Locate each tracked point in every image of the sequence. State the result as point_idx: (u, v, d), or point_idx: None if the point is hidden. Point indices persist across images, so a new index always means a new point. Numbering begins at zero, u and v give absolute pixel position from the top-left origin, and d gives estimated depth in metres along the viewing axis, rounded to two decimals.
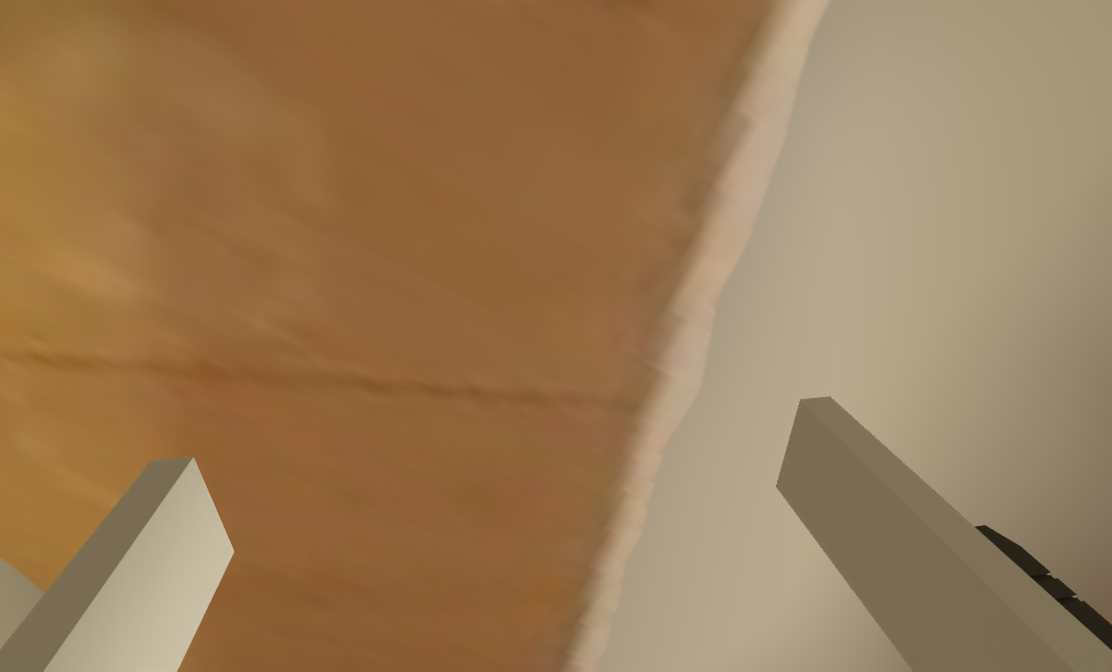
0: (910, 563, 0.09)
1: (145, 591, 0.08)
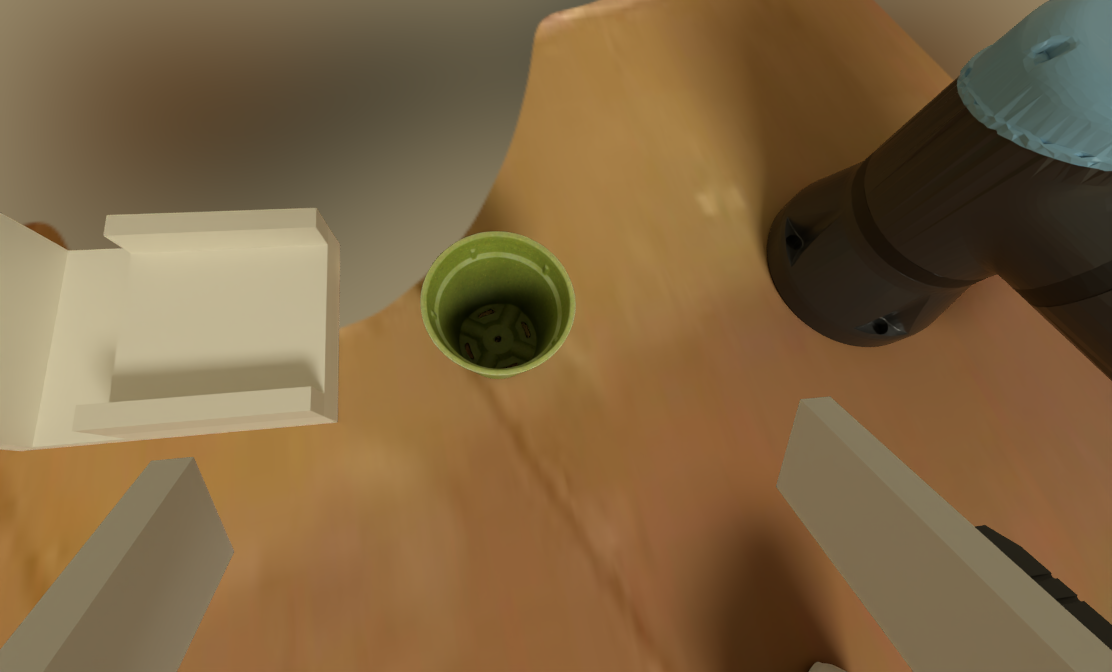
0: (910, 563, 0.09)
1: (145, 591, 0.08)
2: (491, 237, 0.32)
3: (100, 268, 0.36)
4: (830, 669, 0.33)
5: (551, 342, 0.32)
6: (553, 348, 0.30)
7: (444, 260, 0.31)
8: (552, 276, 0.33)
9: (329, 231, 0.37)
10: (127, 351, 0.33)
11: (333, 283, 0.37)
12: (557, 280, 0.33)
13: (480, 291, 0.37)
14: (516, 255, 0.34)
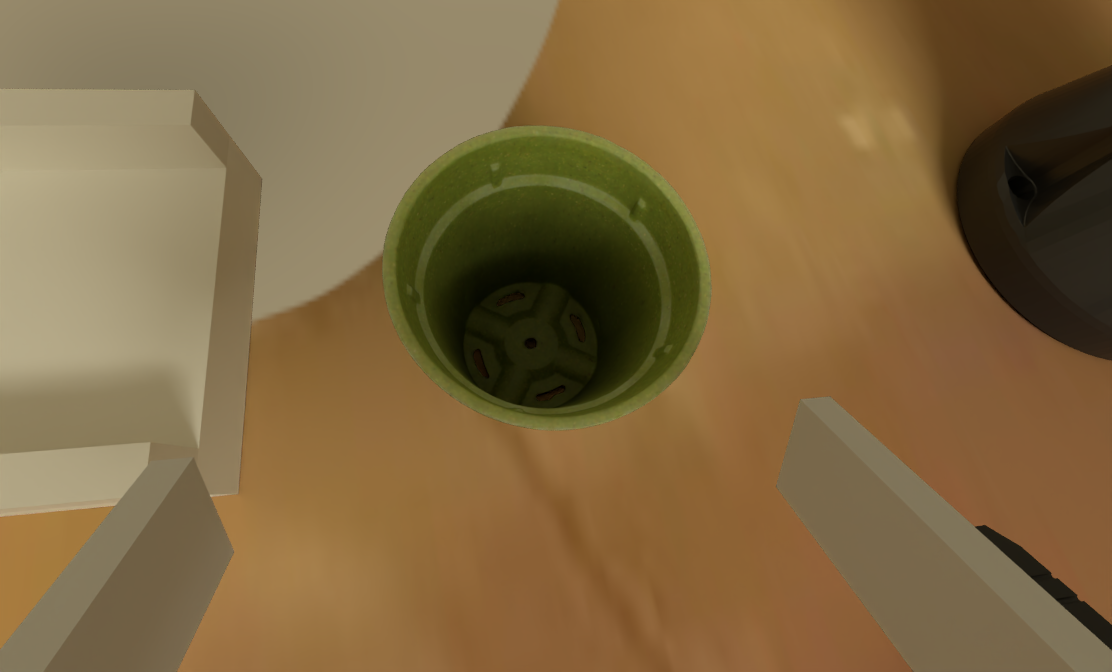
0: (910, 563, 0.09)
1: (145, 591, 0.08)
2: (534, 138, 0.16)
3: None
4: None
5: (653, 354, 0.16)
6: (671, 369, 0.14)
7: (437, 179, 0.15)
8: (651, 223, 0.17)
9: (233, 147, 0.21)
10: None
11: (239, 240, 0.21)
12: (663, 229, 0.16)
13: (503, 257, 0.21)
14: (578, 181, 0.17)
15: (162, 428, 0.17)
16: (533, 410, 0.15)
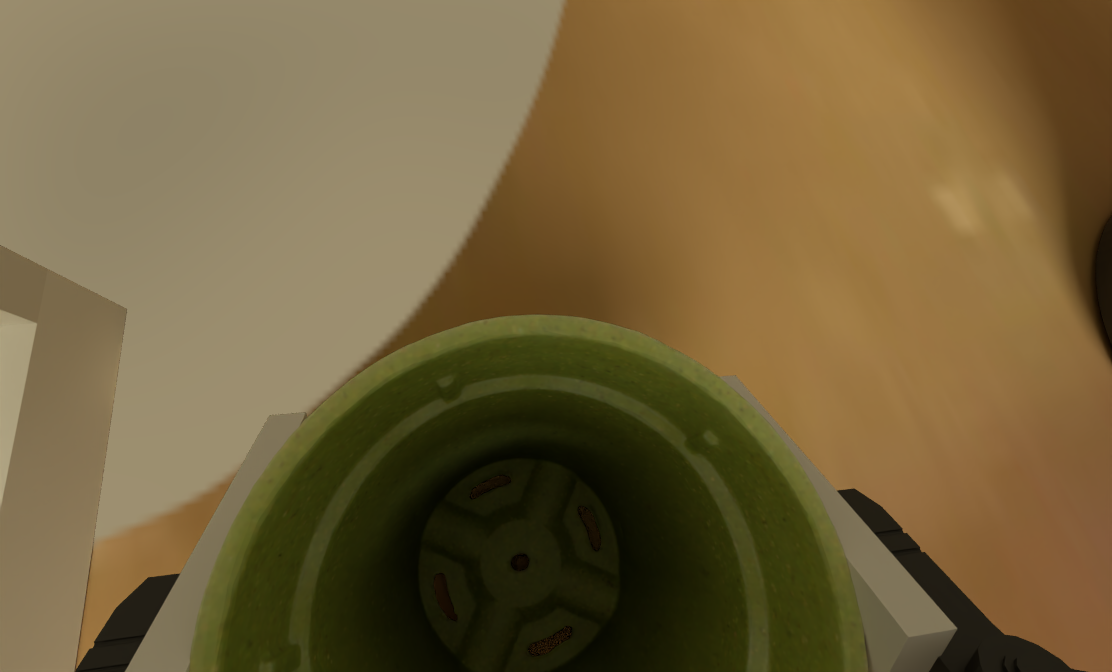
0: None
1: None
2: (515, 339, 0.08)
3: None
4: None
5: None
6: None
7: (323, 442, 0.08)
8: (726, 469, 0.09)
9: (56, 284, 0.13)
10: None
11: (68, 427, 0.14)
12: (752, 487, 0.09)
13: (475, 451, 0.13)
14: (595, 382, 0.10)
15: None
16: None
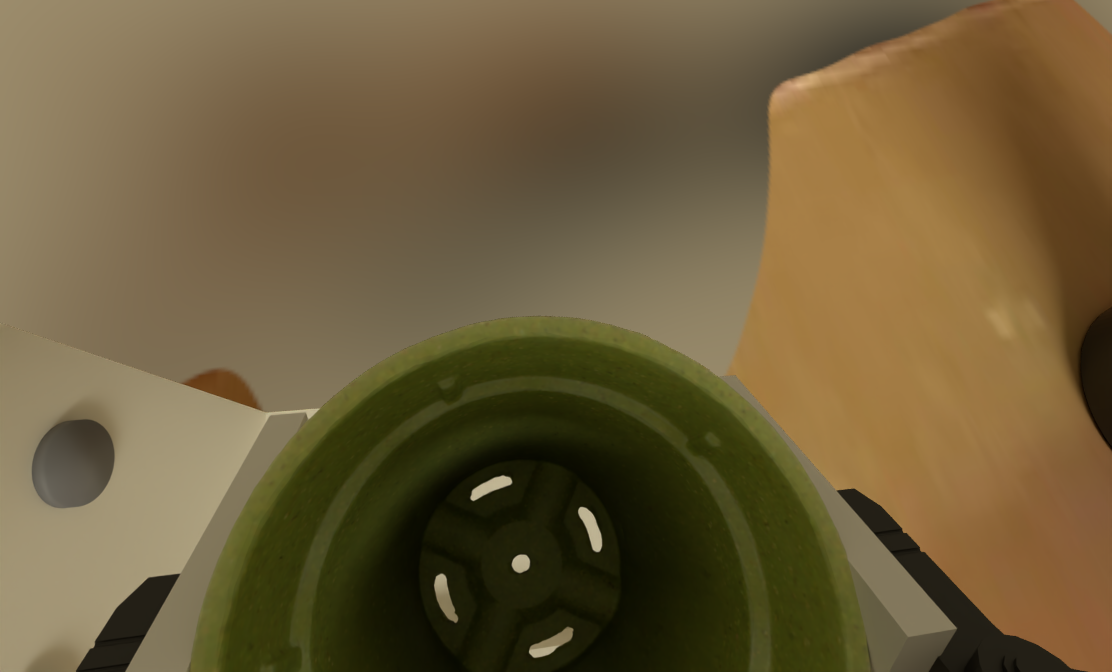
0: None
1: None
2: (516, 340, 0.08)
3: None
4: None
5: None
6: None
7: (324, 444, 0.08)
8: (728, 470, 0.09)
9: None
10: None
11: None
12: (754, 489, 0.09)
13: (475, 452, 0.13)
14: (596, 383, 0.10)
15: None
16: None
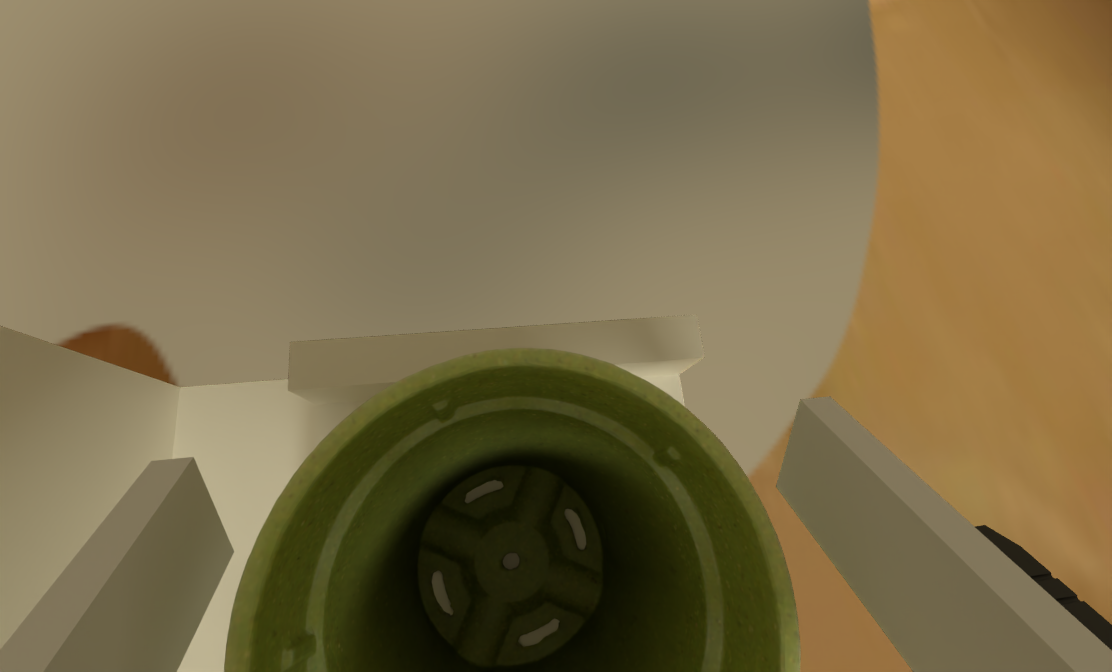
0: (910, 563, 0.09)
1: (145, 591, 0.08)
2: (501, 369, 0.10)
3: (243, 423, 0.19)
4: None
5: None
6: None
7: (335, 462, 0.09)
8: (688, 480, 0.11)
9: None
10: None
11: None
12: (710, 496, 0.10)
13: (468, 460, 0.15)
14: (573, 403, 0.11)
15: None
16: None
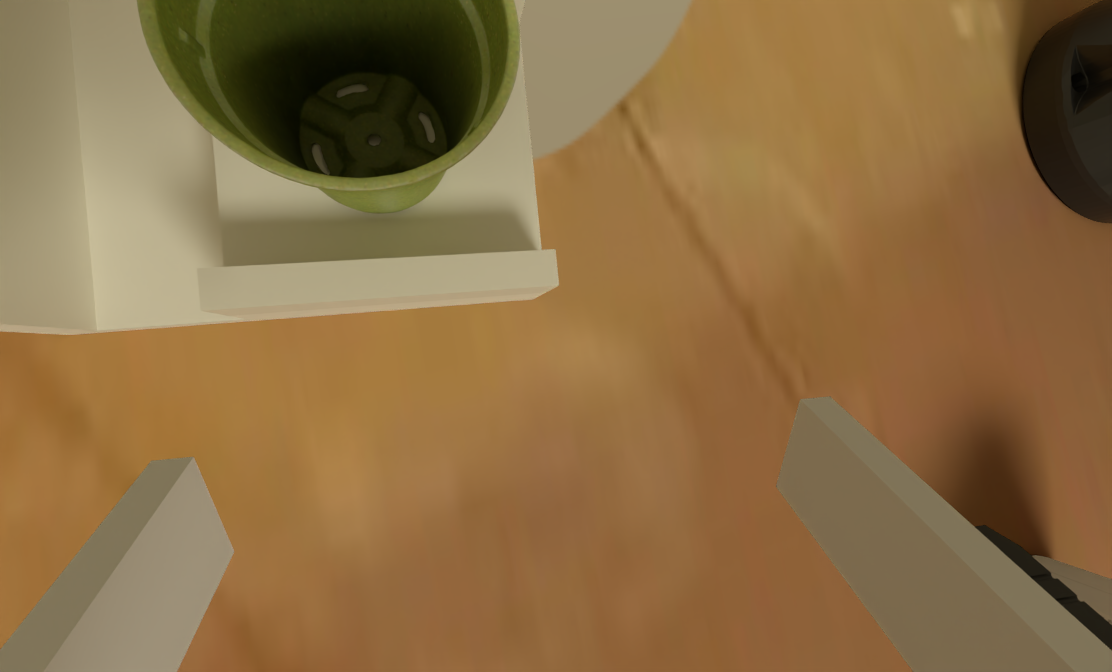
0: (910, 563, 0.09)
1: (145, 591, 0.08)
2: None
3: (135, 33, 0.21)
4: (1063, 565, 0.31)
5: (468, 133, 0.16)
6: (470, 138, 0.14)
7: None
8: None
9: None
10: (235, 181, 0.20)
11: None
12: None
13: (330, 33, 0.19)
14: None
15: (515, 244, 0.23)
16: None
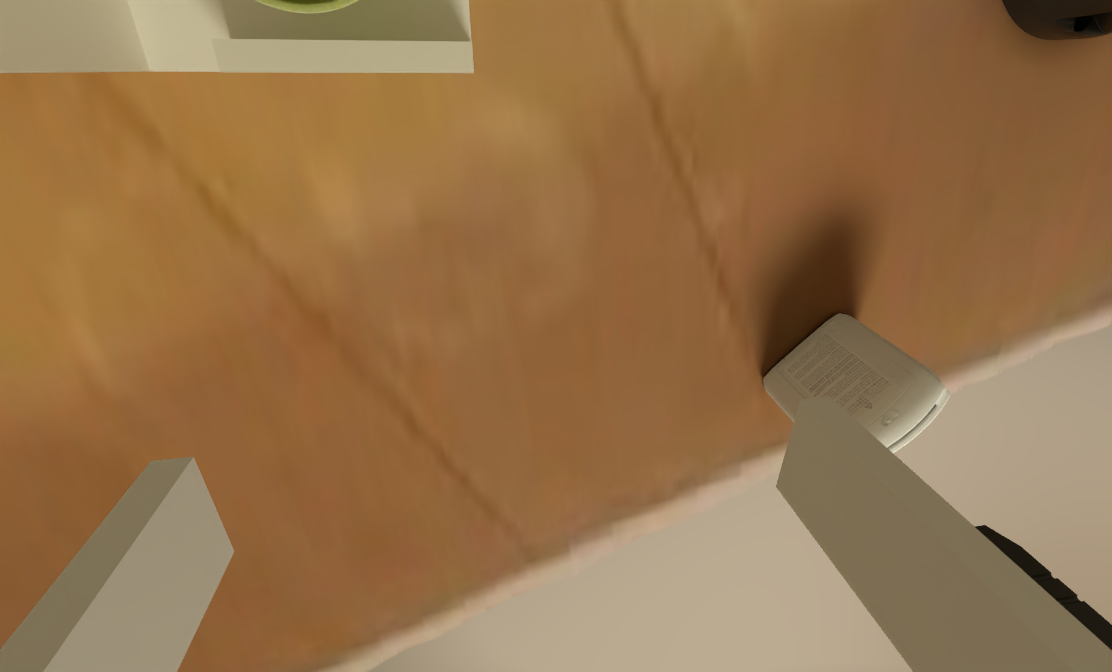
0: (910, 563, 0.09)
1: (145, 591, 0.08)
2: None
3: None
4: (851, 320, 0.44)
5: None
6: None
7: None
8: None
9: None
10: None
11: None
12: None
13: None
14: None
15: (449, 27, 0.29)
16: None
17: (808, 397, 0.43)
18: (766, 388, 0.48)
